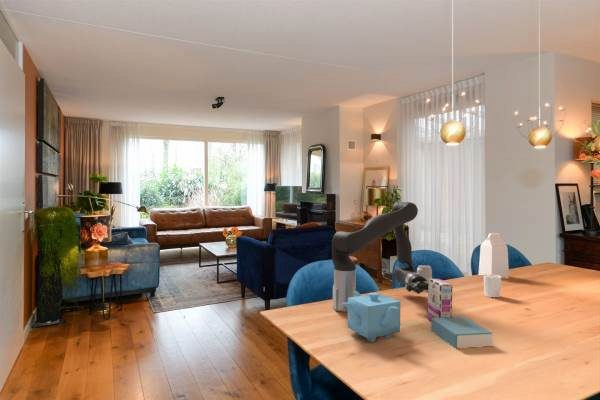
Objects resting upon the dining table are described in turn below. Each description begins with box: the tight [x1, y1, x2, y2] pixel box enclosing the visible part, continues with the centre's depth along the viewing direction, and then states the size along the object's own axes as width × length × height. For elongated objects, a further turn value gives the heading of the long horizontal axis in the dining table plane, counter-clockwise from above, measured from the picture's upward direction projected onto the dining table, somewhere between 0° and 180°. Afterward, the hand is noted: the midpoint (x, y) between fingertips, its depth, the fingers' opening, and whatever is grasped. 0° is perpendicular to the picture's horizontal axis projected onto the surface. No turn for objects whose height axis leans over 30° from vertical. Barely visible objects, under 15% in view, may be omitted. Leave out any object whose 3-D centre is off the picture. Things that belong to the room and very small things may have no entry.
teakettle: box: [342, 290, 402, 343], centre depth 137 cm, size 19×19×15 cm
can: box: [416, 264, 433, 283], centre depth 203 cm, size 8×8×12 cm
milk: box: [478, 232, 510, 277], centre depth 234 cm, size 12×12×26 cm
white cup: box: [483, 274, 502, 299], centre depth 190 cm, size 8×8×10 cm
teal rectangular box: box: [430, 316, 493, 349], centre depth 135 cm, size 13×16×5 cm
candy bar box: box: [427, 278, 453, 322], centre depth 149 cm, size 11×5×16 cm, turn 5°
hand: (429, 291), depth 160 cm, fingers open, 8 cm apart
